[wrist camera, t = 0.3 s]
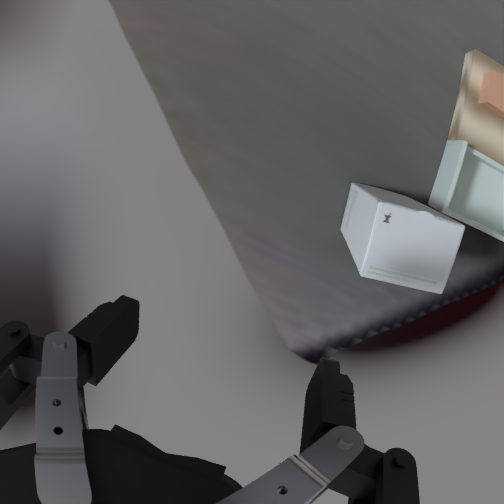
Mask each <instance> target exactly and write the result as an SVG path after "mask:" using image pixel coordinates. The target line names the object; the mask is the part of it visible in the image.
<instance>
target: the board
mask: <svg viewBox="0 0 504 504" xmlns="http://www.w3.org/2000/svg"><path fill="white" fill-rule="evenodd" d="M490 70H494V71H496V72H498V73H499V74H501V75H502V76H504V67H503V66H502V65H500V64H499V63H497V62H496V61H494V60H493V59H491V58H489V57H488V56H486V55H485V54H483V53H481V52H480V51H478V50H476V49H473V50H472V51H470V52H468V53H466V54H465V59H464V66H463V71H462V77H461V82H460V88H459V92H458V97H457V102H456V107H455V111H454V115H453V119H452V124H451V128H450V131H449V135H448V139H447V140H465V141H467V142H468V144H467V146H469V147H471V148H473V149H475V150H476V151H478V152H480V153H482V154H484V155H485V156H487V157H489V158H491V159H492V160H494V161H496V162H497V163H499V164H501V165H502V166H504V119H502V118H501V117H499V116H498V115H496V114H494V113H493V112H491V111H489V110H488V109H486V108H484V107H483V106H481V105H479V104H478V102H479V97H480V91H481V85H482V79H483V73H485V72H487V71H490Z"/></svg>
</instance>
